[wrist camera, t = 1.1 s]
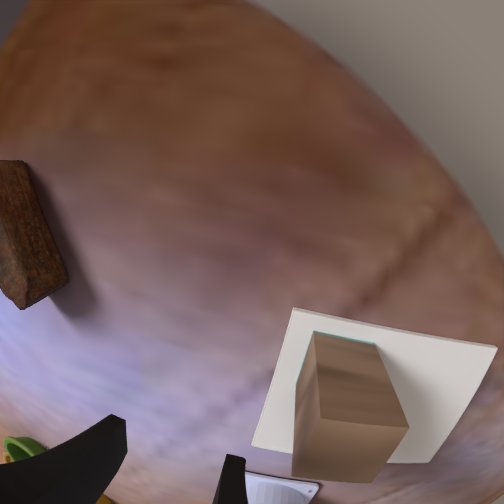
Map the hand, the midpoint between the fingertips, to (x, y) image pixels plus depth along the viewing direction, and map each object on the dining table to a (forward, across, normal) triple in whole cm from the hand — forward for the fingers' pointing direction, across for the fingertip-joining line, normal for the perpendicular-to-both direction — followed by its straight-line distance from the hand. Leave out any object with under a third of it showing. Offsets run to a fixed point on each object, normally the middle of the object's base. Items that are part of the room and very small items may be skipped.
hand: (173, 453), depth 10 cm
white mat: (+10, -12, +3) cm, 16 cm away
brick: (+11, +17, -3) cm, 20 cm away
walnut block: (+10, -7, 0) cm, 12 cm away
